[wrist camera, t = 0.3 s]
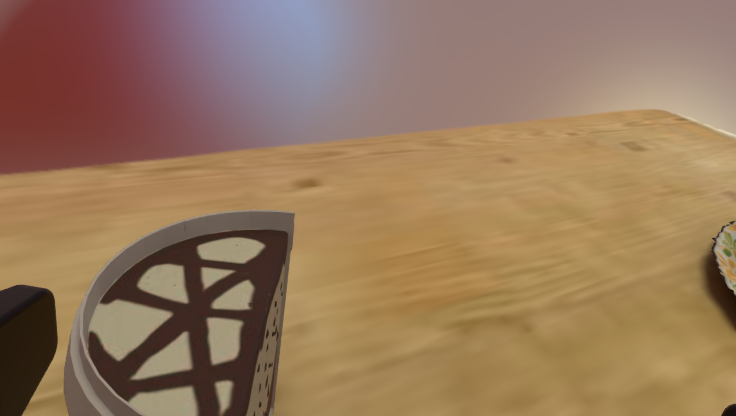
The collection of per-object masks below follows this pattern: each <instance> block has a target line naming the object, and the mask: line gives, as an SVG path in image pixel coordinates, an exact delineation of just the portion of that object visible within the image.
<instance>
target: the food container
mask: <svg viewBox="0 0 736 416" xmlns="http://www.w3.org/2000/svg"><path fill="white" fill-rule="evenodd" d="M294 215H295V212H288V211H278V210H238V211H226V212H219V213H212V214H206V215H201V216H197V217H193V218H189V219H185V220H181V221H178V222H176V223H173V224H170V225H167V226H164V227H161V228H159V229H157V230H155V231H153V232H151V233H149V234H146V235H144V236H142V237H141V238H139V239H137V240H136V241H134V242H133V243H131V244H129V245H128V246H126V247H125V248H123V249H122V250H121V251H120V252H119V253H117V254H116V255H115V256H114V257H113V258H111V259H110V260H109V261H108V262H107V263H106V264H105V266H104V267H103V268H102V269H101V270H100V271H99V273H98V274H97V275H96V276H95V278H94V279H93V281H92V283H91V285H90V287H89V289H88V290H87V292H86V294H85V297H84V299H83V301H82V302H81V304H80V306H79V308H78V310H77V312H76V316H75V319H74V323H73V326H72V330H71V334H70V340H69V345H68V351H67V356H66V362H65V367H64V395H65V400H66V405H67V409H68V414H69V416H272V414H273V409H274V401H275V391H276V382H277V373H278V364H279V355H280V345H281V336H282V327H283V318H284V308H285V299H286V290H287V281H288V272H289V262H290V253H291V250H292V245H293V232H294Z"/></svg>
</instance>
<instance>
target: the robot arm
mask: <svg viewBox="0 0 736 416" xmlns="http://www.w3.org/2000/svg"><path fill="white" fill-rule="evenodd" d="M57 343H58V336H57V323H56V309H55V299H54V296H53V293H52V292H51V291H50V290H48V289H45V288H40V287H34V286H28V285H16V286H13V287H10V288H7V289H4V290H2V291H0V416H22V414H23V412H24V411H25V409H26V407H27V405H28V403H29V401H30V400H31V398H32V396H33V394H34V392H35V391H36V389H37V387H38V385H39V383H40V381H41V380H42V378H43V376H44V374H45V372H46V371H47V369H48V367H49V365H50V363H51V362H52V360H53V358H54V355H55V352H56V349H57ZM721 416H736V404H732V405H729V406H728V407H727V408H725V410H724V411H723V413H722V415H721Z"/></svg>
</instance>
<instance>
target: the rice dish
mask: <svg viewBox="0 0 736 416" xmlns="http://www.w3.org/2000/svg"><path fill="white" fill-rule="evenodd" d="M729 223H730V224H731V225H726V226H723V227H722V229H721V232H719V233H718V236H717V237H716V238H712V239H713V240H714V241H715V243H714V245H713V247H712V250H713V251H711V252H713V254H714V257H715V261H716V262H715V263H717V264H715V265H716V266H717V268H718V270H719V271H720V276H721V277H722V278H723V280H724V282H725V284H727V288H729V289H731V290H734V295H735V297H736V221H732V222H729Z"/></svg>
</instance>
